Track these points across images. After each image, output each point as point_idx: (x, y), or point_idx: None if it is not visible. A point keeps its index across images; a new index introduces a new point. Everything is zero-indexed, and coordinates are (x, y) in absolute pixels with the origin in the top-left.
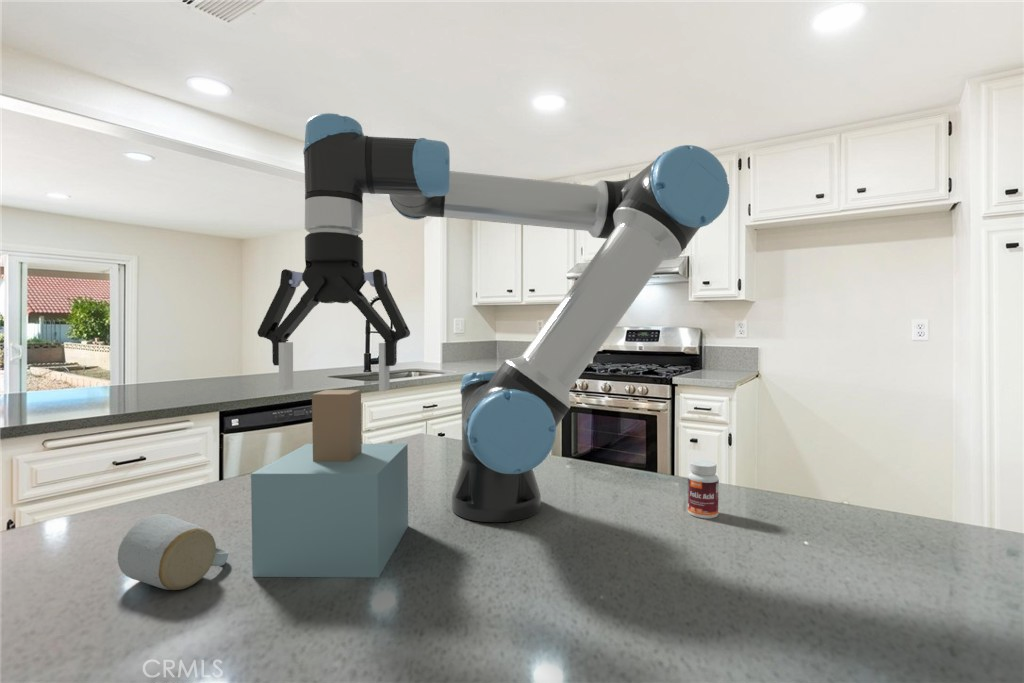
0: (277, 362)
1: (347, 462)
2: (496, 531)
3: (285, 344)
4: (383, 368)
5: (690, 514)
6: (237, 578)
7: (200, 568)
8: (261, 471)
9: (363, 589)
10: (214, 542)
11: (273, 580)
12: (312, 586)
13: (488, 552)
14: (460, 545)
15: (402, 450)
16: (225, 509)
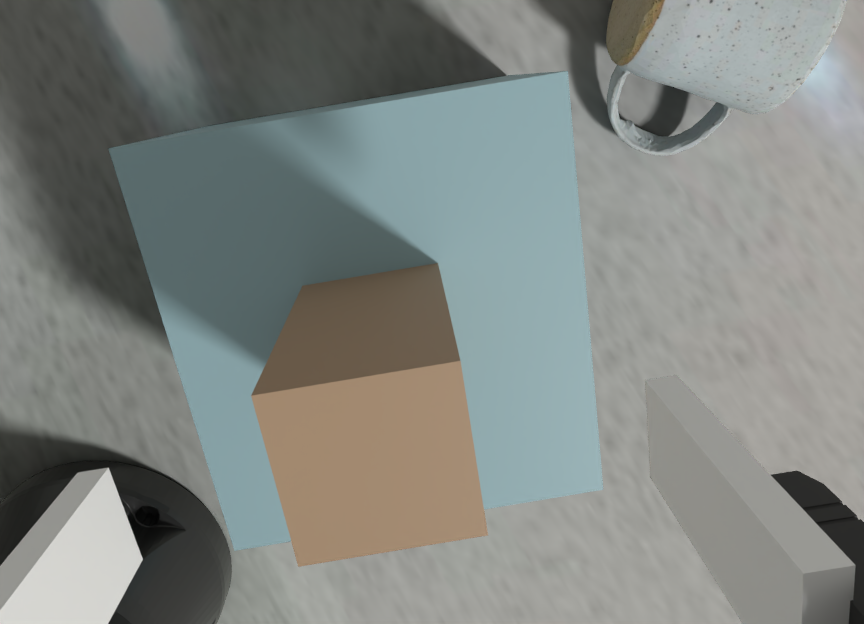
0: (783, 486)
1: (304, 272)
2: (48, 418)
3: (792, 583)
4: (9, 559)
5: None
6: (538, 63)
7: (616, 14)
8: (545, 103)
9: (214, 64)
10: (619, 51)
11: (447, 68)
12: (339, 57)
13: (15, 299)
14: (100, 325)
15: (214, 478)
16: (818, 424)
